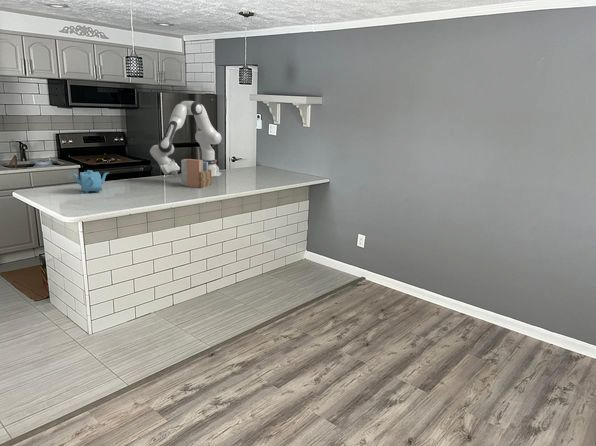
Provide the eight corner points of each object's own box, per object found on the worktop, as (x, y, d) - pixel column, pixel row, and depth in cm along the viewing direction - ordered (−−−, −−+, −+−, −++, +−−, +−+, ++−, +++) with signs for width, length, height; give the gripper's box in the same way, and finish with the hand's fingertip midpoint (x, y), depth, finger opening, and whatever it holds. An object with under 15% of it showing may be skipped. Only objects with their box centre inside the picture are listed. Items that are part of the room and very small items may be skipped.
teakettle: (93, 195, 301) (92, 173, 297) (70, 192, 305) (68, 171, 301) (111, 190, 318) (110, 169, 315) (89, 187, 323) (88, 167, 319)
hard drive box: (203, 185, 352) (203, 160, 347) (199, 187, 345) (199, 161, 340) (185, 183, 356) (185, 158, 351) (181, 185, 349) (180, 159, 343)
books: (196, 183, 359) (196, 157, 353) (208, 184, 357) (208, 158, 351) (187, 186, 344) (186, 159, 339) (199, 187, 342) (199, 160, 336)
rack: (209, 184, 358) (209, 169, 355) (211, 184, 357) (211, 169, 354) (199, 188, 341) (198, 172, 338) (201, 188, 341) (201, 172, 337)
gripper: (161, 162, 342) (173, 175, 342) (174, 159, 361) (185, 172, 361) (156, 167, 344) (167, 181, 344) (169, 164, 363) (180, 177, 364)
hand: (177, 176), depth 353 cm, fingers closed
